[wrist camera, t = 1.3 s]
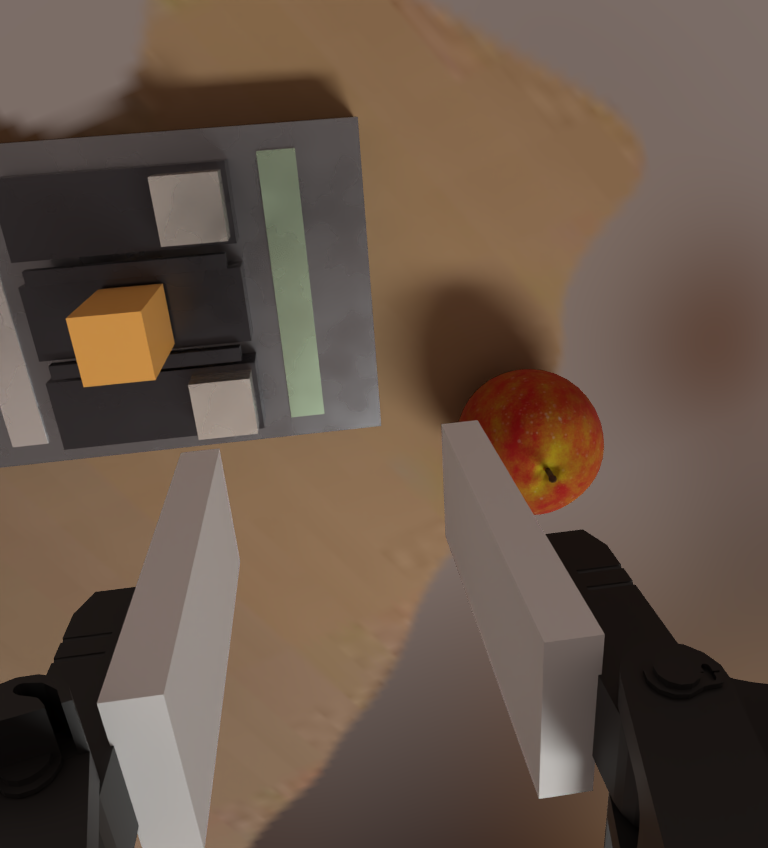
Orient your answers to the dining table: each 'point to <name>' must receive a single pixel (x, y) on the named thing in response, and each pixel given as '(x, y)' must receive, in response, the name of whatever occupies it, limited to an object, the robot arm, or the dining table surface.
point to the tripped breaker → (121, 335)
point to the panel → (326, 262)
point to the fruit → (540, 434)
